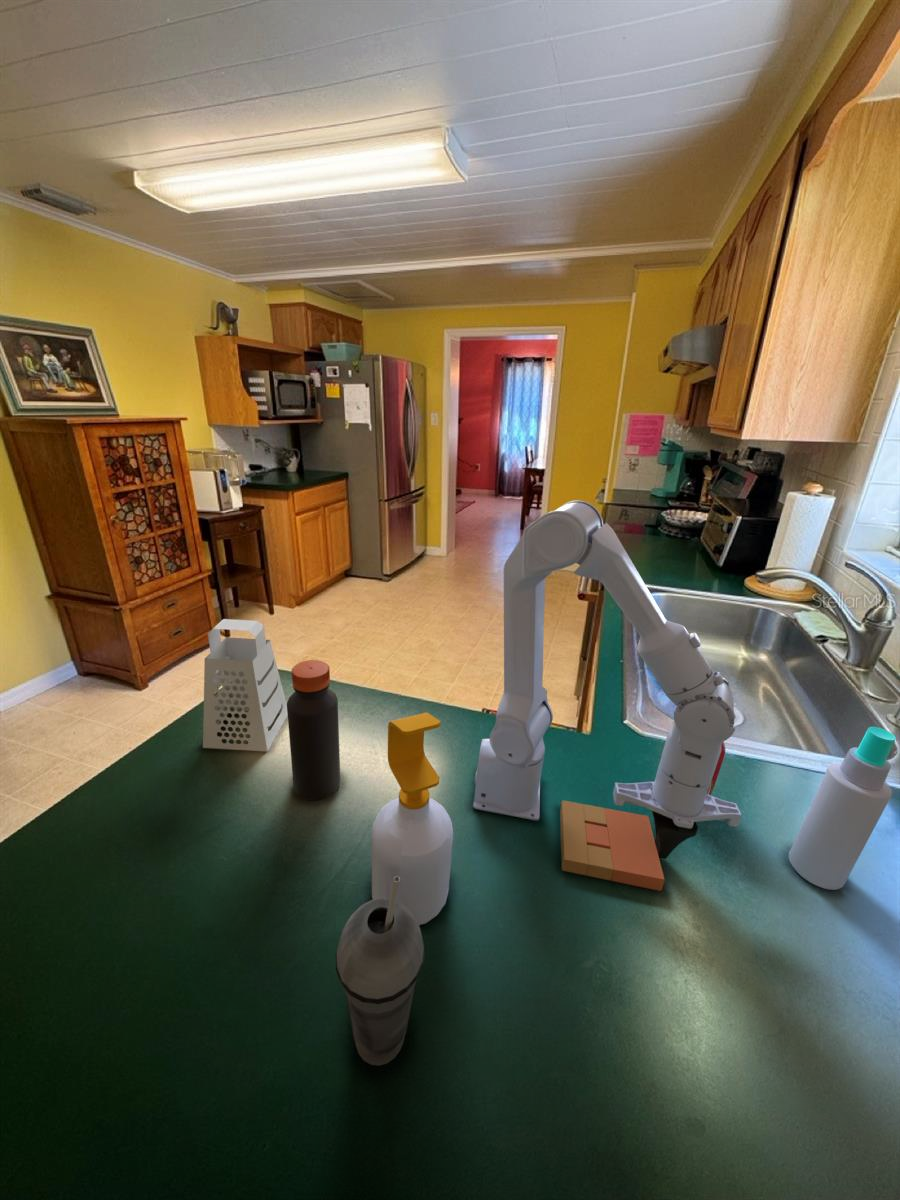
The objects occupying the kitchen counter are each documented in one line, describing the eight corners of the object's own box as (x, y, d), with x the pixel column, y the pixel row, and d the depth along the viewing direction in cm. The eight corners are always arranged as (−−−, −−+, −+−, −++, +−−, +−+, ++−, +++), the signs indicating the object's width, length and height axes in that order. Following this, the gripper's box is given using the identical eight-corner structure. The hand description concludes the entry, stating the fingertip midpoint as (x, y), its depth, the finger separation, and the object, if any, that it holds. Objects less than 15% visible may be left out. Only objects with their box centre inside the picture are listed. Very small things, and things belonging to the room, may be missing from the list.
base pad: (562, 870, 60) (564, 859, 59) (559, 810, 69) (561, 799, 68) (610, 880, 59) (613, 869, 58) (602, 818, 68) (604, 807, 67)
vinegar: (283, 792, 69) (272, 674, 61) (312, 763, 75) (306, 652, 67) (322, 808, 67) (315, 687, 59) (349, 777, 72) (346, 663, 65)
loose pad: (586, 876, 59) (588, 864, 58) (581, 814, 68) (583, 804, 68) (661, 891, 58) (664, 879, 57) (645, 826, 67) (648, 815, 66)
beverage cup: (344, 990, 46) (338, 839, 39) (419, 986, 47) (427, 837, 39) (333, 1090, 39) (323, 930, 32) (421, 1083, 40) (431, 926, 33)
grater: (267, 751, 77) (256, 641, 69) (202, 747, 77) (184, 637, 69) (288, 713, 86) (280, 613, 79) (231, 709, 86) (218, 609, 79)
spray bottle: (793, 842, 66) (852, 711, 58) (846, 871, 62) (918, 735, 54) (782, 868, 62) (845, 731, 54) (839, 901, 58) (915, 758, 50)
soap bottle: (388, 943, 50) (391, 759, 41) (361, 873, 58) (359, 704, 49) (461, 908, 54) (479, 734, 45) (428, 847, 62) (437, 686, 53)
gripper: (628, 782, 54) (607, 867, 59) (764, 806, 52) (730, 891, 57) (619, 744, 61) (601, 823, 66) (740, 763, 59) (711, 843, 64)
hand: (660, 852), depth 62 cm, fingers closed
